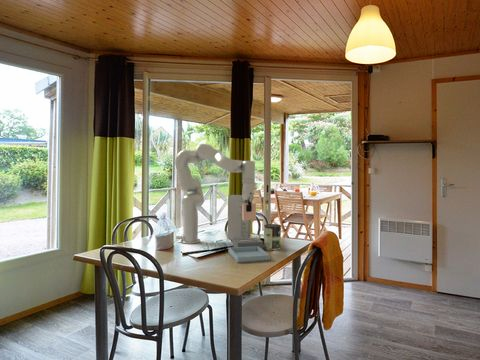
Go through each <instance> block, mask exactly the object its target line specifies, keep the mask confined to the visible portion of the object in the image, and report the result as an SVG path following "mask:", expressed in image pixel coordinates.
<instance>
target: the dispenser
mask: <svg viewBox="0 0 480 360" xmlns="http://www.w3.org/2000/svg"><path fill="white" fill-rule="evenodd" d="M233 246H234V247H251V246H259V247H260V248H261V249H262V250H264V241H263V240H261V238H259V237H257V236H256V237H255V236H254V237H250V238H233V240H232V247H233ZM234 247H233V248H234Z"/></svg>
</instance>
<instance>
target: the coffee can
mask: <svg viewBox="0 0 480 360" xmlns="http://www.w3.org/2000/svg"><path fill="white" fill-rule="evenodd" d="M263 230H264V231H263V232H264V234H263V235H264V236H263V237H264V239H263V240H264V241H263V249H265V250H269V251H277V250H281V249H282V248H281V247H282V245H281V244H282V242H281V239H282V236H281V235H282V233H281V231H282V225H280V224H277V223H266V224H264V229H263Z"/></svg>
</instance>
